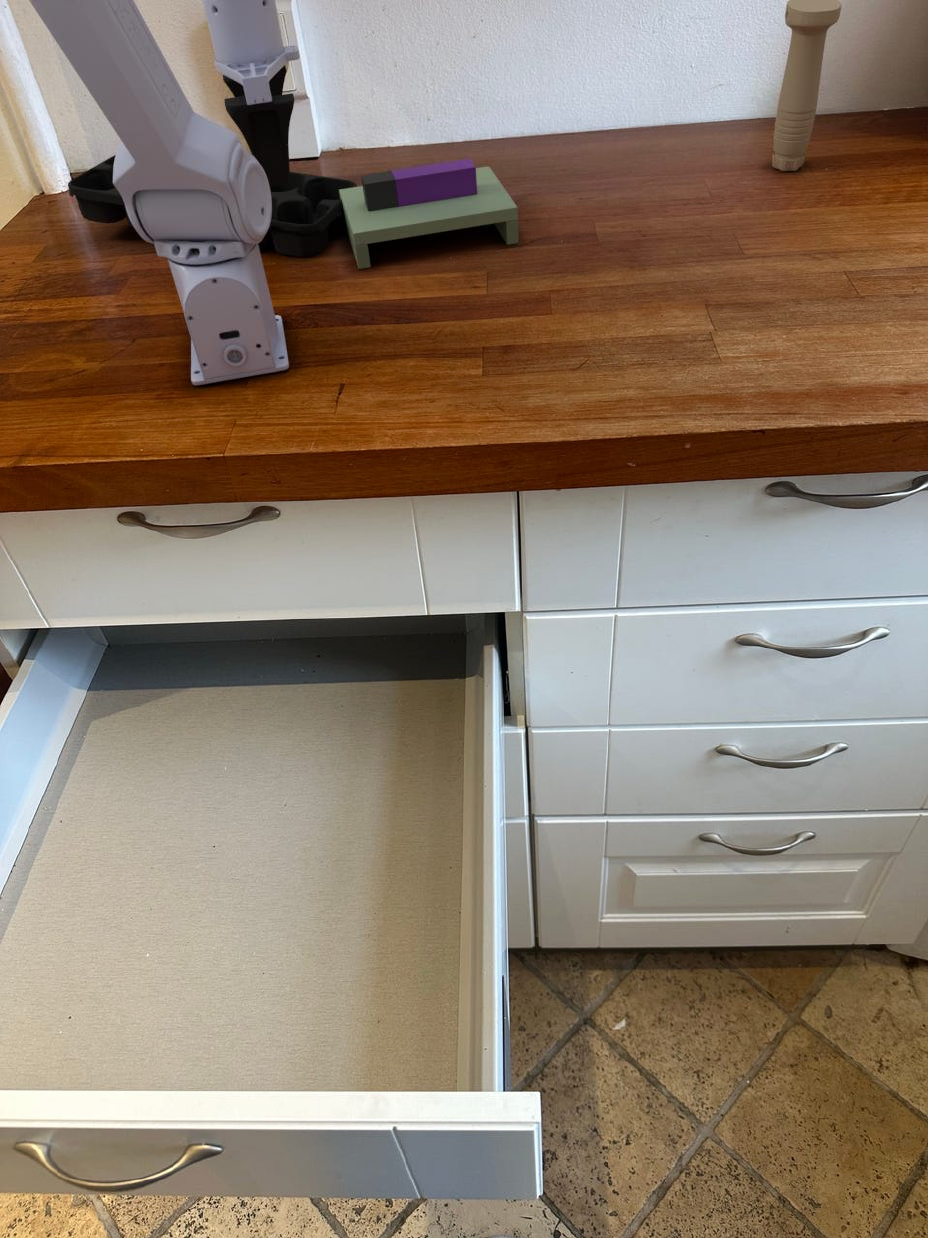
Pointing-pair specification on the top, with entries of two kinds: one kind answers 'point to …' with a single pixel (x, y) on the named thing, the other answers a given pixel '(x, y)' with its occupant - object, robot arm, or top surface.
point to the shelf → (429, 216)
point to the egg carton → (294, 221)
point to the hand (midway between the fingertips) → (274, 169)
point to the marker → (419, 184)
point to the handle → (801, 79)
